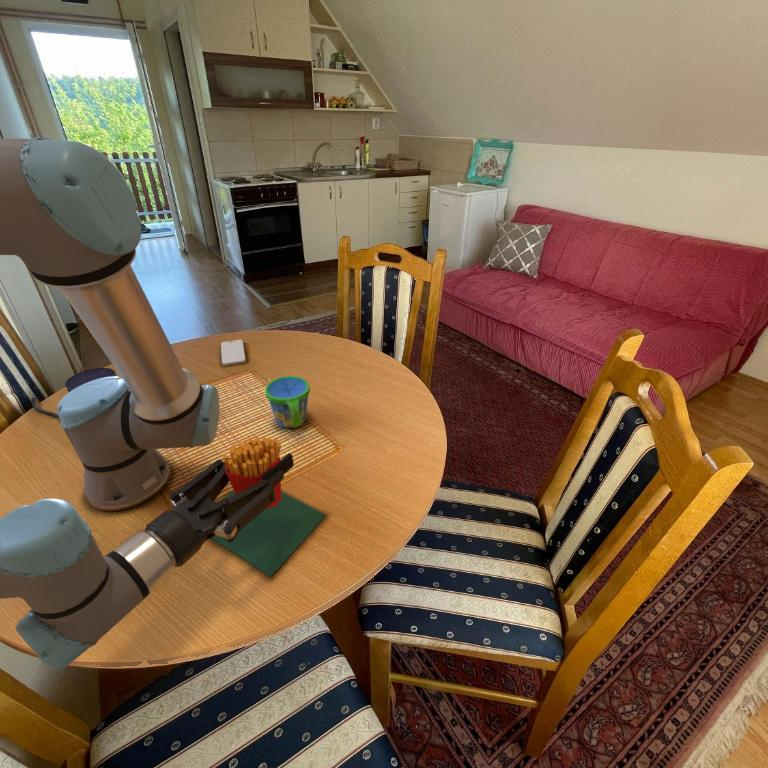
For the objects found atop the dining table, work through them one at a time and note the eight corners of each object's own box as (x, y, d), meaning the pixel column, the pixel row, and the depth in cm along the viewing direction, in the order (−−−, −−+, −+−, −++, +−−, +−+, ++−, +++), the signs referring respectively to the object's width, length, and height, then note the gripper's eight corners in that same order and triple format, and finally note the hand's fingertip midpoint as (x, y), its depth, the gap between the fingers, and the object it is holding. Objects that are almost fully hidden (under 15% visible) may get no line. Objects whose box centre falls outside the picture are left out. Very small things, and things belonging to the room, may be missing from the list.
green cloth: (191, 525, 77) (191, 524, 77) (251, 476, 88) (251, 475, 88) (270, 577, 69) (270, 576, 69) (326, 515, 80) (325, 514, 80)
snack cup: (317, 435, 100) (314, 401, 95) (272, 443, 98) (267, 408, 92) (307, 400, 113) (304, 368, 107) (268, 406, 110) (262, 373, 105)
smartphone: (221, 364, 127) (220, 342, 139) (222, 367, 128) (220, 345, 139) (246, 360, 129) (242, 339, 141) (246, 363, 130) (243, 342, 142)
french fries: (238, 518, 71) (223, 461, 64) (234, 501, 74) (219, 445, 67) (290, 501, 74) (282, 445, 67) (284, 485, 77) (276, 430, 71)
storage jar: (81, 433, 99) (56, 381, 91) (122, 413, 106) (101, 363, 98) (103, 449, 95) (78, 395, 87) (144, 427, 102) (124, 375, 94)
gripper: (128, 537, 63) (244, 450, 80) (211, 598, 55) (320, 488, 72) (112, 502, 59) (237, 419, 76) (199, 563, 51) (317, 455, 68)
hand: (277, 453), depth 74 cm, fingers closed on french fries, 6 cm apart
